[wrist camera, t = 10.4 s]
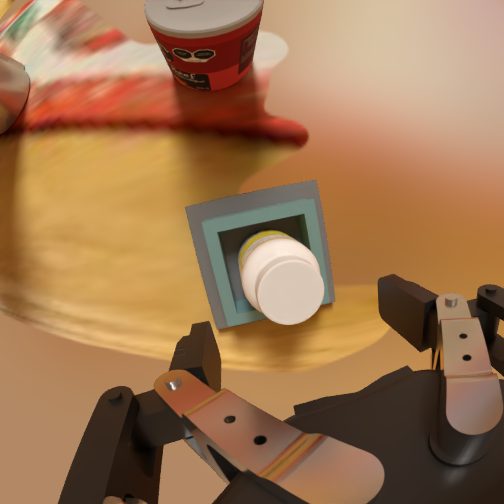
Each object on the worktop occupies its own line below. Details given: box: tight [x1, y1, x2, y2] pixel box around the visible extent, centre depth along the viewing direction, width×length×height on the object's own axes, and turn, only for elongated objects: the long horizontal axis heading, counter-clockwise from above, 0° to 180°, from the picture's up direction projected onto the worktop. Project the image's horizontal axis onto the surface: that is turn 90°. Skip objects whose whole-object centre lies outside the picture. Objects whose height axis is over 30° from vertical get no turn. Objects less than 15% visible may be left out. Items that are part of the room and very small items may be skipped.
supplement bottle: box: [238, 229, 324, 325], centre depth 20 cm, size 5×5×10 cm
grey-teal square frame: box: [185, 180, 335, 329], centre depth 24 cm, size 12×12×4 cm
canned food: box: [145, 0, 264, 92], centre depth 16 cm, size 8×8×11 cm
